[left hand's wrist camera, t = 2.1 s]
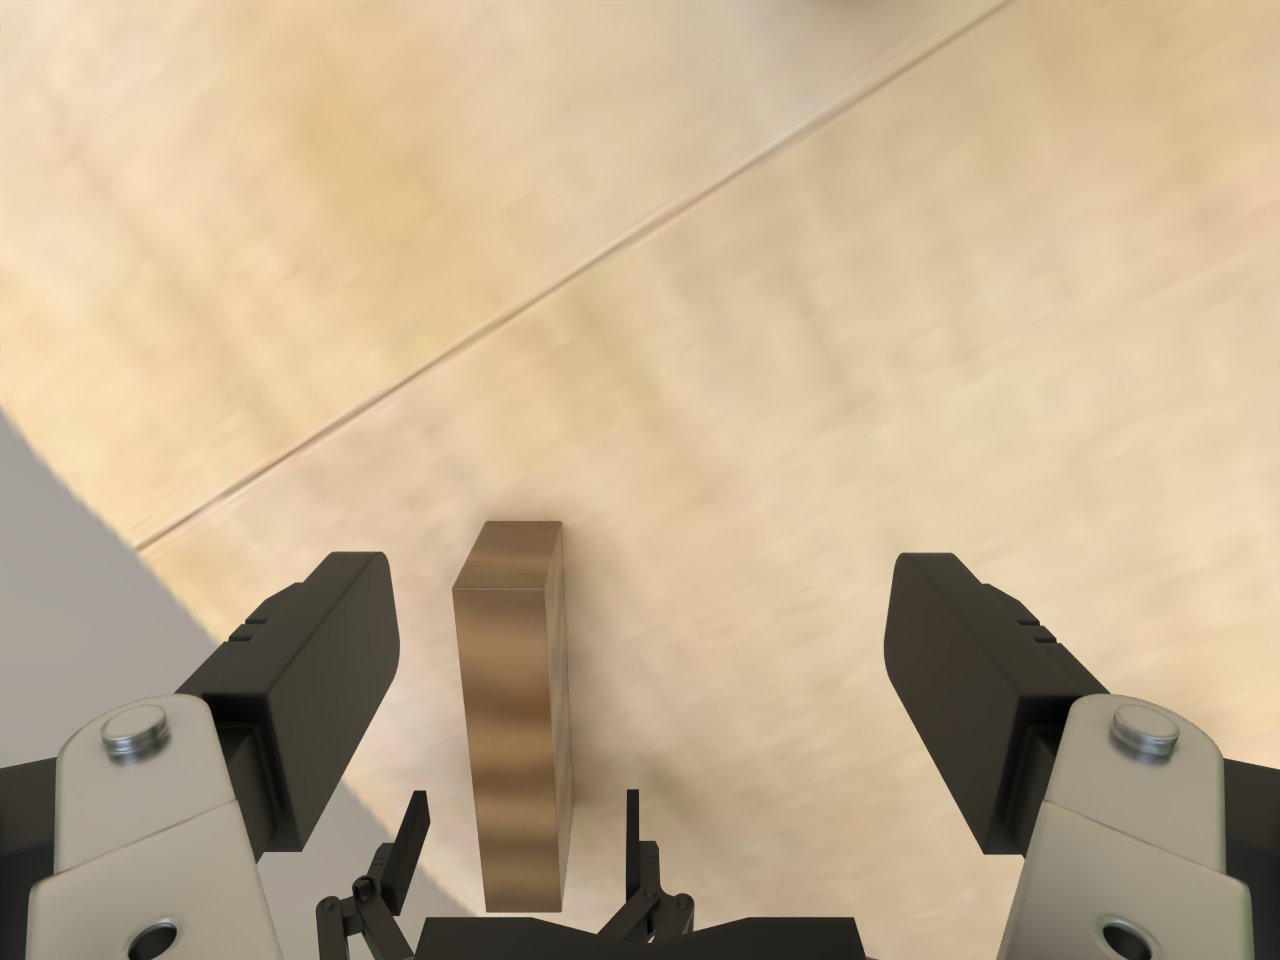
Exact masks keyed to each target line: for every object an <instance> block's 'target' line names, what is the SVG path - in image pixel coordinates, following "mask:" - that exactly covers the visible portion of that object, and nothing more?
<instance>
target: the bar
mask: <svg viewBox="0 0 1280 960" xmlns="http://www.w3.org/2000/svg"><path fill="white" fill-rule="evenodd" d="M452 593H453V603H454V612H455V621H456V631H457V640H458V650H459V659H460V669H461V678H462V688H463V697H464V706H465V716H466V725H467V735H468V744H469V754H470V763H471V772H472V782H473V791H474V801H475V810H476V820H477V829H478V839H479V848H480V857H481V867H482V876H483V886H484V895H485V905H486V912H562V905H563V896H564V887H565V879H566V870H567V861H568V852H569V843H570V834H571V825H572V816H573V785H572V761H571V738H570V714H569V691H568V667H567V644H566V621H565V597H564V574H563V550H562V527H561V522H485V524H484V526H483V528H482V530H481V532H480V534H479V536H478V538H477V540H476V542H475V544H474V546H473V548H472V550H471V552H470V554H469V556H468V558H467V560H466V562H465V564H464V566H463V568H462V570H461V572H460V574H459V576H458V578H457V580H456V582H455V583H454V585H453V587H452Z"/></svg>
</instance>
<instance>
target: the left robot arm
mask: <svg viewBox="0 0 1280 960" xmlns="http://www.w3.org/2000/svg"><path fill="white" fill-rule="evenodd" d="M399 654H400V639H399V631H398V623H397V616H396V609H395V602H394V595H393V588H392V580H391V573H390V567H389V563H388V559H387V557H386V555H385V554H384V553H383V552H332V553H330V554H329V555H328V556H327V557H326V558H325V559H324V560H323V561H322V562H321V563H320V564H319V566H318V567H317V568H316V569H315V570H314V571H313V572H312V573H311V574H310V575H309V576H308V578H307V579H306V580H305V581H304V582H303V583H294V584H292V585H290V586H289V587H287V588H285V589H283V590H282V591H280V592H278V593H276V594H275V595H273V596H271V597H269V598H268V599H266V600H265V601H264V602H263V603H262V604H261V605H260V606H259V607H258V608H257V609H256V610H255V611H254V612H253V613H252V614H251V615H250V616H249V617H248V618H247V619H246V620H245V624H241V625H240V626H239V627H238V628H237V629H236V630H235V631H234V632H233V633H232V634H231V635H230V636H229V641H228V642H223V644H222V645H221V646H220V647H219V648H218V649H217V650H216V651H215V652H214V653H213V654H212V655H211V656H210V657H209V658H208V659H207V660H206V661H205V662H204V663H203V664H202V665H201V666H200V667H199V668H198V669H197V670H196V671H195V672H194V673H193V674H192V675H191V676H190V677H189V678H188V679H187V680H186V681H185V682H184V683H183V684H182V685H181V686H180V688H179V689H178V690H177V691H176V692H175V693H174V694H165V695H157V696H152V697H147V698H143V699H140V700H136V701H133V702H130V703H127V704H124V705H122V706H119V707H117V708H115V709H112V710H110V711H108V712H106V713H104V714H102V715H100V716H98V717H97V718H95V719H93V720H92V721H90V722H89V723H87V724H86V725H84V726H83V727H82V728H80V729H79V730H78V731H76V732H75V733H74V734H73V735H72V736H71V737H70V738H69V739H68V740H67V741H66V743H65V744H64V745H63V746H62V748H61V750H60V752H59V754H58V756H57V757H55V758H50V759H45V760H40V761H35V762H30V763H25V764H20V765H16V766H11V767H6V768H1V769H0V960H284V959H283V955H282V952H281V948H280V945H279V941H278V938H277V934H276V931H275V928H274V924H273V921H272V917H271V914H270V910H269V907H268V903H267V900H266V897H265V893H264V890H263V886H262V883H261V879H260V876H259V872H258V869H257V863H258V861H259V860H260V858H261V856H262V854H263V853H264V852H302V850H303V848H304V846H305V844H306V843H307V841H308V839H309V837H310V835H311V833H312V831H313V829H314V827H315V826H316V824H317V822H318V820H319V818H320V816H321V814H322V813H323V811H324V809H325V807H326V805H327V803H328V801H329V799H330V798H331V796H332V794H333V792H334V790H335V788H336V786H337V784H338V782H339V781H340V779H341V777H342V775H343V773H344V771H345V769H346V768H347V766H348V764H349V762H350V760H351V758H352V756H353V754H354V752H355V751H356V749H357V747H358V745H359V743H360V741H361V739H362V737H363V736H364V734H365V732H366V730H367V728H368V726H369V724H370V722H371V721H372V719H373V717H374V715H375V713H376V711H377V709H378V707H379V706H380V704H381V702H382V700H383V698H384V696H385V694H386V692H387V691H388V689H389V687H390V685H391V683H392V681H393V679H394V677H395V674H396V671H397V667H398V662H399ZM884 659H885V665H886V670H887V673H888V676H889V679H890V681H891V683H892V685H893V687H894V688H895V690H896V692H897V694H898V696H899V698H900V700H901V701H902V703H903V705H904V707H905V709H906V711H907V713H908V714H909V716H910V718H911V720H912V722H913V724H914V726H915V727H916V729H917V731H918V733H919V735H920V737H921V739H922V740H923V742H924V744H925V746H926V748H927V750H928V752H929V753H930V755H931V757H932V759H933V761H934V763H935V765H936V766H937V768H938V770H939V772H940V774H941V776H942V778H943V779H944V781H945V783H946V785H947V787H948V789H949V791H950V792H951V794H952V796H953V798H954V800H955V802H956V803H957V805H958V807H959V809H960V811H961V813H962V815H963V816H964V818H965V820H966V822H967V824H968V826H969V828H970V829H971V831H972V833H973V835H974V837H975V839H976V841H977V842H978V844H979V846H980V848H981V850H982V852H983V854H984V855H1023V857H1024V859H1025V862H1024V865H1023V869H1022V872H1021V876H1020V879H1019V883H1018V886H1017V890H1016V893H1015V896H1014V900H1013V903H1012V907H1011V910H1010V914H1009V917H1008V921H1007V924H1006V928H1005V931H1004V934H1003V938H1002V941H1001V945H1000V948H999V952H998V955H997V959H996V960H1280V770H1279V769H1274V768H1269V767H1264V766H1259V765H1255V764H1250V763H1245V762H1240V761H1235V760H1230V759H1226V758H1223V756H1222V754H1221V752H1220V750H1219V748H1218V746H1217V745H1216V744H1215V743H1214V741H1213V740H1212V739H1211V738H1210V737H1209V736H1208V735H1207V734H1206V733H1205V732H1204V731H1202V730H1201V729H1200V728H1198V727H1197V726H1196V725H1194V724H1193V723H1191V722H1190V721H1188V720H1187V719H1185V718H1183V717H1182V716H1180V715H1178V714H1176V713H1174V712H1172V711H1170V710H1168V709H1165V708H1163V707H1161V706H1158V705H1156V704H1153V703H1150V702H1147V701H1144V700H1140V699H1137V698H1133V697H1128V696H1123V695H1115V694H1111V693H1110V692H1109V691H1108V690H1107V689H1106V688H1105V687H1104V686H1103V685H1102V684H1101V683H1100V682H1099V681H1098V680H1097V679H1096V678H1095V677H1094V676H1093V675H1092V674H1091V673H1090V672H1089V671H1088V670H1087V669H1086V668H1085V667H1084V666H1083V665H1082V664H1081V663H1080V662H1079V661H1078V660H1077V659H1076V658H1075V657H1074V656H1073V655H1072V654H1071V653H1070V652H1069V651H1068V650H1067V649H1066V648H1065V647H1064V646H1063V645H1062V644H1061V643H1057V641H1056V638H1055V637H1054V636H1053V635H1052V634H1051V633H1050V632H1049V631H1048V630H1047V629H1046V628H1045V626H1040V621H1039V620H1038V619H1037V618H1036V617H1035V616H1034V615H1033V614H1032V613H1031V612H1030V611H1029V610H1028V609H1027V608H1026V607H1025V606H1024V605H1023V604H1022V603H1021V602H1020V601H1018V600H1017V599H1015V598H1013V597H1011V596H1010V595H1008V594H1006V593H1004V592H1002V591H1001V590H999V589H997V588H995V587H994V586H992V585H990V584H982V583H981V582H980V581H979V580H978V579H977V578H976V577H975V576H974V575H973V574H972V573H971V572H970V571H969V569H968V568H967V567H966V566H965V565H964V564H963V563H962V562H961V561H960V560H959V559H958V558H957V557H956V556H955V555H954V554H952V553H901V554H900V555H899V556H898V558H897V560H896V563H895V567H894V573H893V580H892V587H891V594H890V601H889V608H888V616H887V623H886V630H885V637H884ZM403 960H877V959H873V958H870V957H866V956H865V953H864V949H863V946H862V943H861V939H860V936H859V933H858V930H857V926H856V923H855V920H854V917H748V918H744V919H740V920H737V921H733V922H729V923H725V924H721V925H717V926H713V927H710V928H706V929H702V930H698V931H694V932H690V933H687V934H683V935H679V936H675V937H671V938H667V939H663V940H660V941H656V942H652V943H646V944H634V943H628V942H624V941H620V940H617V939H613V938H609V937H605V936H601V935H597V934H593V933H590V932H586V931H582V930H578V929H574V928H570V927H567V926H563V925H559V924H555V923H551V922H547V921H543V920H540V919H536V918H532V917H427V918H426V920H425V923H424V926H423V930H422V933H421V936H420V939H419V943H418V946H417V949H416V953H415V956H414V957H410V958H407V959H403Z"/></svg>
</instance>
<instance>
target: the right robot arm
mask: <svg viewBox="0 0 1280 960" xmlns="http://www.w3.org/2000/svg"><path fill="white" fill-rule="evenodd" d="M429 825H430V816H429V809H428V802H427V795H426V791H414V792H413V795H412V798H411V800H410V803H409V806H408V808H407V811H406V814H405V816H404V819H403V821H402V824H401V827H400V829H399V832H398V835H397V837H396V840H395V843H382V845H381V846H380V847H379V848H378V849H377V851H376V853H375V856H374V859H373V861H372V863H371V866H370V868H369V871H368V873H367V875H364V876H361V877H359V878H358V879H357V880H356V881H355V882H354V883H353V886H352V891H353V896H351V897H349V898H345V899H342V900H339V898H337V897H336V896H329V897H326V898H324V899H323V900H321V901H320V902H319V903H318V905H317V907H316V919H317V931H318V943H319V955H320V960H350V956H349V948H348V939H347V936H351V935H354V934H357V933H360V932H361V933H362V935H363V937H364V939H365V941H366V943H367V945H368V947H369V949H370V951H371V953H372V955H373V957H374V959H375V960H403V959H407V958H410V957H414V956H415V955H414V953H413V952H412V950H411V948H410V946H409V945H408V943H407V941H406V939H405V938H404V936H403V934H402V932H401V931H400V929H399V927H398V925H397V923H396V922H395V920H394V918H393V916H400V913H401V910H402V907H403V904H404V901H405V898H406V894H407V892H408V889H409V886H410V882H411V880H412V876H413V874H414V871H415V868H416V865H417V862H418V859H419V856H420V853H421V849H422V846H423V843H424V840H425V837H426V834H427V831H428V828H429ZM693 928H694V900H693V899H692V897H691V896H689V895H688V894H684V893H681V894H678V895H676V896H675V897H674V896H671V895H668V894H666V893H665V892H664V891H663V890H662V888H661V886H660V870H659V848H658V846H657V844H656V842H655V841H639V789H630V790H627V834H626V903H625V905H624V906H623V907H622V908H621V909H620V910H619V911H618V912H617V913H616V914H615V915H614V916H613V917H612V919H611V920H610V921H609V922H608V923H607V924H606V925H605V926H604V927H603V928H602V929H601V930H600V931H599V933H598V934H597V935H601V936H605V937H609V938H613V939H617V940H620V941H624V942H628V943H634V944H646V943H648V941H649V940H650V939H651V938H652V937H653V936H654V935H655V937H654V939H653V941H652V942H656V941H660V940H663V939H667V938H671V937H675V936H679V935H683V934H687V933H690V932H693Z"/></svg>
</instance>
